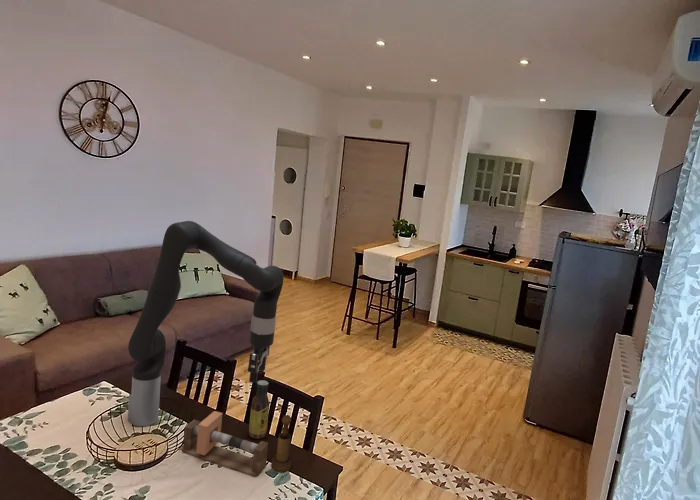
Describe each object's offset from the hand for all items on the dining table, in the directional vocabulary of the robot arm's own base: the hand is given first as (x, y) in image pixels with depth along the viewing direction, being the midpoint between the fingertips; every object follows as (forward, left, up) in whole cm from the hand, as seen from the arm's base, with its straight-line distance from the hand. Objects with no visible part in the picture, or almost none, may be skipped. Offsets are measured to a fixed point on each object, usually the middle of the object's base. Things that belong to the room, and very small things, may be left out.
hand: (257, 376), depth 154 cm
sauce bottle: (-3, +11, -28) cm, 31 cm away
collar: (-12, -6, -26) cm, 29 cm away
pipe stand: (-6, -6, -28) cm, 29 cm away
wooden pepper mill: (+12, -1, -28) cm, 31 cm away
